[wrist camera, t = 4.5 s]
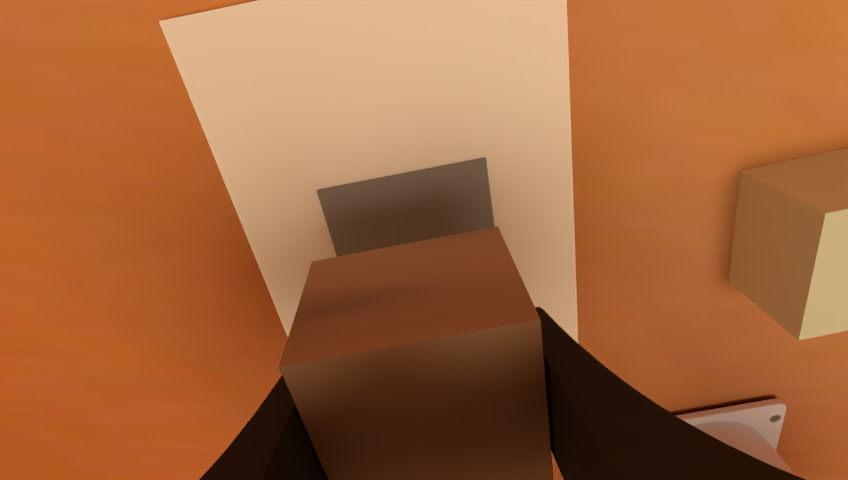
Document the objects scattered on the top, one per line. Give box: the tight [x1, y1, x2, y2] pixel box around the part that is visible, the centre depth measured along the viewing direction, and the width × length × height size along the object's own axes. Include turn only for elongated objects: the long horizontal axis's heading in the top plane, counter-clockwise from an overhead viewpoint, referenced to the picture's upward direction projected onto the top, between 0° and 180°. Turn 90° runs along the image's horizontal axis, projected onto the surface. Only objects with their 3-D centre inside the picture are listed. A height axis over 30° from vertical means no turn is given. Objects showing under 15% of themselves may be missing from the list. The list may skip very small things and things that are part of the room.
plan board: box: [159, 0, 578, 343], centre depth 18 cm, size 18×12×1 cm, turn 10°
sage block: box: [728, 147, 848, 340], centre depth 17 cm, size 5×5×4 cm
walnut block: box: [279, 226, 553, 480], centre depth 12 cm, size 5×5×4 cm
